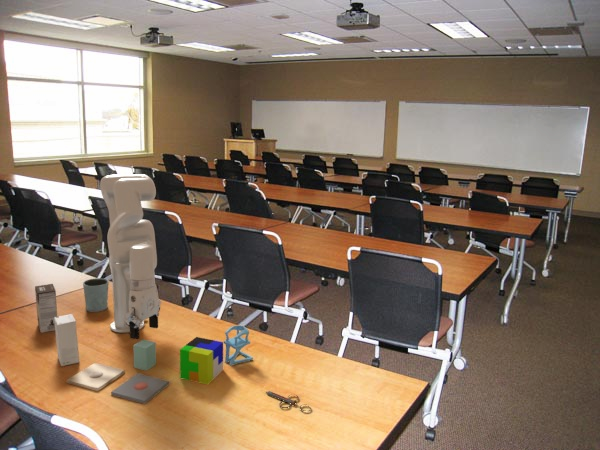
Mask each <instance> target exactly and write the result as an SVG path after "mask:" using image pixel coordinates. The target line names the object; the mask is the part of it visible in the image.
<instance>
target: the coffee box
mask: <svg viewBox="0 0 600 450" xmlns="http://www.w3.org/2000/svg"><path fill="white" fill-rule="evenodd" d="M34 292H35V303H36V304H35V305H36V317H37V325H38V328H39V331H40V334H42V333H47V332H52V331H53V332H54V331H55V322H54V317H58V307H57V292H56V288H55V286H54V284H53V283H49V284H48V283H47V284H42V285H36V286H34Z"/></svg>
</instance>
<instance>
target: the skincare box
mask: <svg viewBox="0 0 600 450" xmlns="http://www.w3.org/2000/svg"><path fill="white" fill-rule="evenodd" d="M54 322H55V330H54V332H55V333H54V334H55V341H56V350H57V352H56V354H57V358H58V361H59V364H60V366H61V367H64V366H68V365H75V364H79V363H80V361H81V360H80V354H79V353H80V352H79V343H78V333H77V323H76V322H77V321H76V319H75V317H74V315H73V313H70V314H64V315H59V316H58V315H57V317H54Z"/></svg>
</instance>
